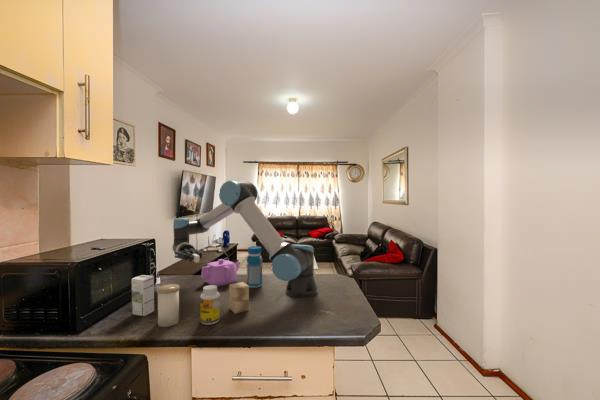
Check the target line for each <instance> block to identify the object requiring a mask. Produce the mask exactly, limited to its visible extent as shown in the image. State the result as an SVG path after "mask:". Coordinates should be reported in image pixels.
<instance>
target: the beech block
mask: <svg viewBox="0 0 600 400" xmlns="http://www.w3.org/2000/svg"><path fill="white" fill-rule="evenodd" d="M228 285H229V287H228V288H229V289H228V290H229V292H228V293H229V299H228V300H229V302H228V303H229V304H228V305H229V309H230V311H232V312H233V313H234V314H238V313H243V312H246V311H249V310H250V307H249V306H250V305H249V304H250V302H249V301H250V293H249V292H250V287H249V286H248V285H247V283H245V282H244V281H241V282H234V283H231V284H228Z"/></svg>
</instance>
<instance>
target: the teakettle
mask: <svg viewBox="0 0 600 400" xmlns="http://www.w3.org/2000/svg"><path fill="white" fill-rule="evenodd" d="M240 265H241V261H236V262H234V261H230V260H228V259H224V258H220V259H217V260H216V261H211V262H207V263H206V265H205V266H202V267H201V276H200V278H202V279H203V280H205V282H206V284H208V285H215V286H217V287H221V286H225V285H227V286H228V285H229V284H235V283H237V278H238V274H237V273H238V269H239V267H240Z"/></svg>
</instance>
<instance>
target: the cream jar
mask: <svg viewBox="0 0 600 400" xmlns="http://www.w3.org/2000/svg"><path fill="white" fill-rule="evenodd" d="M156 292H157V326H158V327H162V328H167V327H172V326H175V325H177V324H178V323H179V322H180V284H178V283H169V284H164V285H160V286H158V287H157V288H156Z"/></svg>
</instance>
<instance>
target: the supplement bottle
mask: <svg viewBox="0 0 600 400" xmlns="http://www.w3.org/2000/svg"><path fill="white" fill-rule="evenodd" d="M199 300H200V302H199V303H200V304H199V306H200V307H199V310H200V311H199V317H200V318H199V320H200V323H201V324H202V325H206V326H207V325H208V326H210V325H214V324H217V323H218V322H219V321H220V320H221V319H220V318H221V293H220V292H219V291H218V286H215V285H209V284H208V285H205V286H203V288H202V293H201V294H200V298H199Z"/></svg>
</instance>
